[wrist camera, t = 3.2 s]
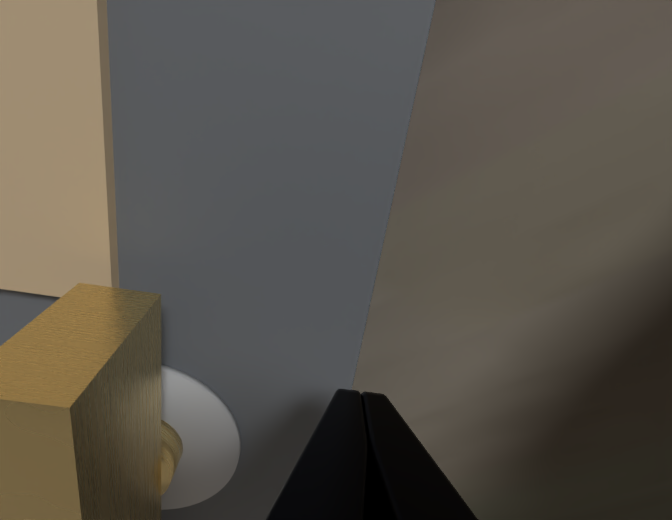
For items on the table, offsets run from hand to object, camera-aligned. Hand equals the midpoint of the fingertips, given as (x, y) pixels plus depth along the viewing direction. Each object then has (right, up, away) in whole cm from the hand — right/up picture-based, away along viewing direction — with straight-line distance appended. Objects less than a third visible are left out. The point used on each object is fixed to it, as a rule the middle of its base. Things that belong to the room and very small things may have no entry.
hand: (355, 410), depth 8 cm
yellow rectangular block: (-5, -2, +3) cm, 6 cm away
